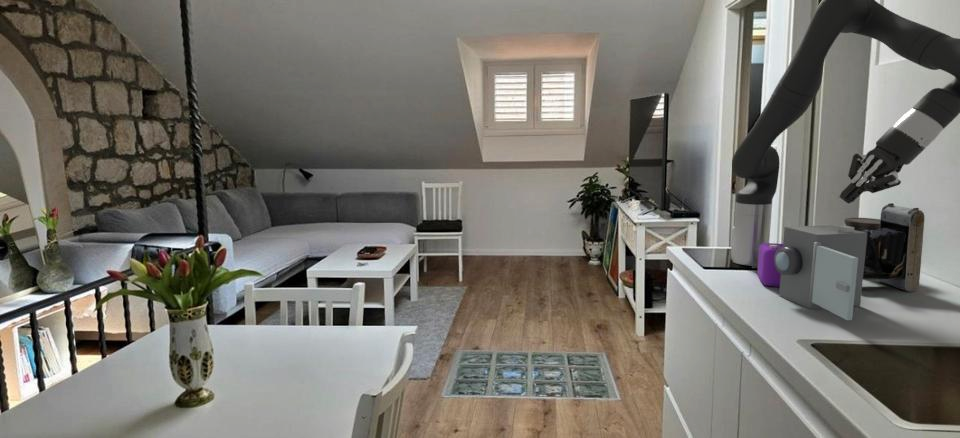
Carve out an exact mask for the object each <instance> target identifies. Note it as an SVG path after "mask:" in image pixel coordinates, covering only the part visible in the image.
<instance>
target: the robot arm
mask: <svg viewBox="0 0 960 438" xmlns="http://www.w3.org/2000/svg"><path fill="white" fill-rule="evenodd" d="M841 33H842V34H851V33H852V34H856V35H861V36H865V37H867V38H871V39H874V40H876V41H878V42H881V43H883V44H884V45H885V46H886V47H888V48H889V49H890V50H891V51H893V52H894V53H896V54H897V55H898V56H900V57H902V58H903V59H905V60H908V61H910V62H912V63H914V64H916V65H918V66H921V67H923V68H925V69H928V70H932V71H937V70H941V71H942V72H943V71H944V72H946V73H948V74H950V75H951V76H953V77H954V79H953V80H951V81H950V82H948V84H946V85H945V86H944V87H942V88H940V87H935V88H932V89H931V90H930V91H928V92H927V93H926V94H925V95H923V96H922V97H921V98H920V100H919V101H917V103H916V104H914V105H913V107H911V108H910V110H908V111H907V112H906V113H904V114H903V115H902V116H901V117H900V118H899V119H898V120H897V121H895V123H893V125H891V127H889V129H888V130H886V132H884V133H883V134H882V136H880V138H878V140H877V141H876V142H875V147H874V148H873V149H870V150H869V151H868V152H867V153H866V154H862V155H860V154H859V153H855V154H854V155H853V156H852V160H851V163H850V167H849V172H848V174H847V175H848V178H849V179H850V183H849V184H848V185H847V187H845V189H843V190H842V191H841V193H840V195H839V198H840V199H841V200H843V201H844V202H845V203H847V204H851V203H853V202H855V201H856V200H857V199H858V198H859V197H860V196H861V194H863V193H864V192H865V193H866V192H869V193H871V194H876V193H878V192H881V191H884V190H888V189H890V188H893V187H897V186H900V184H901V183H902V181H901V180H900V179H899V176H898V174H899V173H900V172H901V171H902V169H903V166H905V165H906V166H907V165H910V164H911V163H912V162H913V161H914V160H915V159H916V158H917V157H918V156H919V155H920V154H921V153H923V151H924V150H926V148H928V146H930V144H932V143H933V142H934V141H935V140H936V138H937V137H938V136H939V135H940V134H941V133H942V132H943V131H944V129H946V128H947V127H948V125H950V123H952V121H954V120H955V119H956V117H958V115H959V114H960V38H957V37H956V38H955V37H953V36H950V35H949V34H946V33H944V32H941V31H939V30H937V29H935V28H932V27H930V26H926V25H924V24H921V23H918V22H916V21H913V20H911V19H909V18H905V17H903V16H901V15H899V14H897V13H895V12H893V11H892V10H889V9H888V8H887V7H885V6H883V5H882V4H881V3H879V2H878V1H876V0H821V1H820V2H819V3H818V5H817V8H816V9H815V11H814V13H813V15H812V17H811V19H810V22H809V24H808V27H807V29H806V31H805V34H804V35H803V38H802V40H801V42H800V44H799V46H798V48H797V49H796V51H795V53H794V55H793V57H792V59H791V60H790V62H789V65H788V66H787V68H786V70H785V72H783V74H782V76H781V78H780V79H779V80H778V83H777V85H776V86H775V88H774V90H773V92H772V94H771V96H770V97H769V100H768V101H767V103H766V105H765V106H764V108H763V109H762V111H761V112H760V115H759V117H758V118H757V120H756V121H755V122H754V125H753V127H752V128H751V129H750V131H749V132H748V134H747V135H746V136H745V137H744V139H743V140H742V142H741V143H740V144H739V145H738V148H737V149H736V150H735V152H734V154H733V156H732V161H731V168H732V169H731V170H732V171H733V174H734V175H735V176H736V177H738V178H740V179H745V180H746V179H748V180H747V183H746V185H745V186H744V187H743V188H742V189H740V190H739V191H737V192H736V197H735V209H734V210H735V211H734V223H733V224H734V225H733V227H732V231H731V232H732V233H731V247H730V261H731V262H732V263H734V264H738V265H742V266H749V267H751V266H752V267H758V258H759V248H760V246H761V244H764V243H770V239H771V226H772V225H771V224H772V223H771V222H772V213H773V212H772V208H773V198H774V196H775V195H776V192H777V190H778V189H777V187H778V180H779V174H780V173H779V172H780V165H781V164H780V155H779V153H778V150H776V148H775V147H774V146H772V145H773V143H774V142H775V140H777V138H778V137H779V136H780V135H782V134H783V132H785V131H786V130H787V129H788V128H789V127H790V126H792V125H793V124H794V123H795V122H796V121H797V120H799V119H801V117H803V115H804V114H805V113H806V111H807V110H808V108H809V107H810V105H811V104H812V103H813V101H814V98H815V97H816V96H817V94H818V93H819V90H820V88H821V85H822V81H823V76H824V75H823V73H824V66H825V60H826V57H827V55H828V52H829V51H830V49H831V48H832V46H833V44H834V43H835V41H836V39H837V38H838V37H839V35H840V34H841Z"/></svg>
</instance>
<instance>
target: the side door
mask: <svg viewBox="0 0 960 438" xmlns="http://www.w3.org/2000/svg"><path fill="white" fill-rule="evenodd" d="M857 266H858V258H856V257H853V256H850V255H848V254H845V253H842V252H839V251H836V250H833V249H830V248H827V247H824V246H821V243H820V242H814V251H813V262H812V273H811V285H810V296H809V303H810V304H817V305H818V306H820V307H822V308H821V309H823V310H826V311H828V312H830V313H832V314H834V315H836V316H838V317H840V318H842V319H844V320H845V321H853V316H854V315H853V314H854V307H855V306H854V296H855V286H856V276H857Z"/></svg>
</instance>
